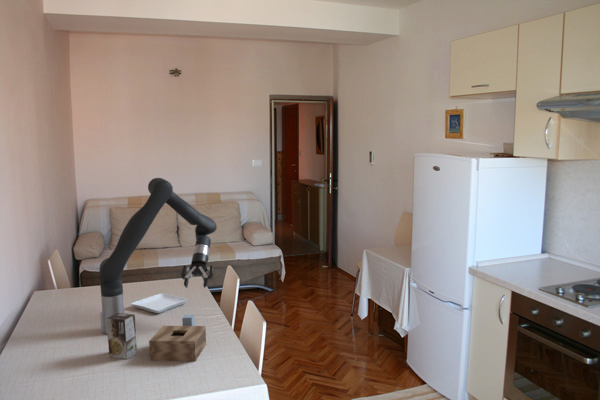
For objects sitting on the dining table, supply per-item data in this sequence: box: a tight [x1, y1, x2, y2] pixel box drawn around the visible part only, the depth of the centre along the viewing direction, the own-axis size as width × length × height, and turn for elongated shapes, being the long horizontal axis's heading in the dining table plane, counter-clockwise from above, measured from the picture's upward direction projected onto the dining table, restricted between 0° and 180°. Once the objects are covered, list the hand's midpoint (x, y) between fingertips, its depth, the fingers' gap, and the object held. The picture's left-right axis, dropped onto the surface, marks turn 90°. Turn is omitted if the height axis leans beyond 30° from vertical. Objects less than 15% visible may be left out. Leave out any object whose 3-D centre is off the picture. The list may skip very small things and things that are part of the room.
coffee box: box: [106, 313, 138, 360], centre depth 194 cm, size 9×6×16 cm
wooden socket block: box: [148, 325, 207, 362], centre depth 196 cm, size 18×16×8 cm
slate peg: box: [181, 314, 196, 326], centre depth 210 cm, size 4×4×10 cm
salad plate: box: [130, 292, 189, 314], centre depth 254 cm, size 21×21×3 cm
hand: (195, 286), depth 220 cm, fingers open, 8 cm apart
